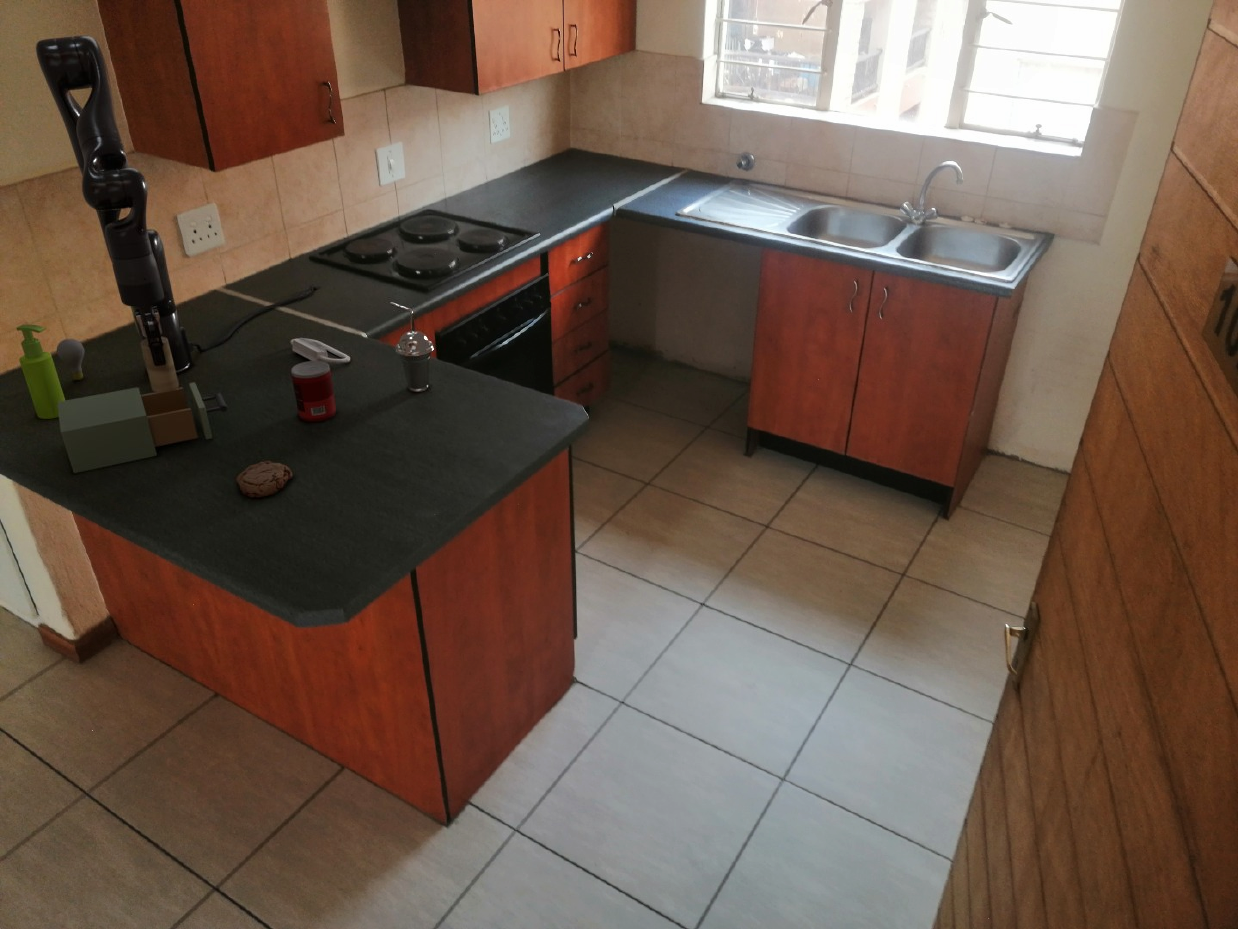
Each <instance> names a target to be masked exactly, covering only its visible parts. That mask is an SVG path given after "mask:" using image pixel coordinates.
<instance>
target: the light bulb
mask: <svg viewBox="0 0 1238 929" xmlns="http://www.w3.org/2000/svg"><path fill="white" fill-rule="evenodd" d="M56 355H57V356H58V358H59V359H60V360H61V361H62V362H63V363H64V364H66V365H67V366H68V367H69V369H70V372H71V375H72V379H73V380H76V381H81V380H82V379H83V378H84V374H83V369H82V362H83V359H84V356H85V348H84V345H83V344H82V343H81V341H79V340H77V339H74V338H65V339H63V340H61V341H60V342H59V343H58V344H57V347H56Z"/></svg>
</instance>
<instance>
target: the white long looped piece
mask: <svg viewBox="0 0 1238 929" xmlns="http://www.w3.org/2000/svg"><path fill="white" fill-rule="evenodd" d="M289 343H290V345H291V346H292V347H291V351H292V352H295V353H297V355H300V356H302V357H304V358H305V359H308V360H309V361H322V362H326V363H328V364H347V363H349V362H351V357H350V356H349V355H348V354H346V353H343V352H342V351H340V350H338V349H336V348H334V347H332V346H330V345H328V344H326V343H324V342H322V341H319V340H316V339H312V338H303V337H298V338H293V339H291V340H290V342H289ZM327 351H328V352H330V353H332V354H334V355H336V356H338V357H339V358H331V357H329V356H328V352H327Z"/></svg>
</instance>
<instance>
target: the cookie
mask: <svg viewBox="0 0 1238 929" xmlns="http://www.w3.org/2000/svg"><path fill="white" fill-rule="evenodd" d="M293 476H294V475H293V472H292V470H291V468H290V467H288V465H286V464H283V463H281V462H273V461H271V460H264V461H260V462H257V463H255V464H252V465H249V466H248V467H246V468H245V469H244V470H243V471H242V472H240V474H238V476H236V482H237V484H238V486H239V488H240V489H239V490H240V491H241V493H242V494H243V495H244V496H246V497H247V496H248V497H249V498H262V497H263V498H264V497H266V496H271V495H274V494H276V493H277V492H278V491H280V490H281V489H283V488H284V487H285V485H286V483H287V482H288V480H291V479H292V478H293Z"/></svg>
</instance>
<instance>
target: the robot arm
mask: <svg viewBox="0 0 1238 929" xmlns="http://www.w3.org/2000/svg"><path fill="white" fill-rule="evenodd" d="M35 52H36V58H37V61H38V64H39V67H40V70H41V72H42V74H43V77H44V80H45V82H46V84H47V86H48V89H49V90H50V93H51V96H52V98H53V100H54V102H55V106H56V107H57V110H58V112H59V113H60V116H61V119H62V121H63V124H64V126H65V129H66V133H67V135H68V138H69V141H70V144H71V147H72V151H73V153H74V157H75V159H76V163H77V165H78V168H79V170H80V174H81V176H82V178H81V192H82V196H83V198H84V201H85V202H86V204H87V205H88V206H89V207H91V208H92V209H94V210H95V212H96V215H97V218H98V221H99V225H100V228H101V232H102V235H103V239H104V242H105V246H106V249H107V250H106V251H107V254H108V256H109V259H110V262H111V264H112V271H113V275H114V278H115V282H116V285H117V289H118V293H119V298H120V301H121V303H122V304H123V305H124V306H126V307H130V309H131V313H132V317H133V321H134V325H135V329H136V333H137V336H138V340H139V343H140V342H141V341H142V340H144V339H147V342H148V347H149V349H150V351H151V355H152V359H153V363H154V365H155V366H161V365H165V364H166V359H165V355H164V351H163V345H164V343H163V342H162V338H161V337H166V338H167V339H168V342H169V346H170V350H171V354H172V358H173V363H174V367H175V371H176V375H178V374H182V373H183V372H185V371H187V370H188V369H189V368H190V367H192V366H194V361H193V357H192V352H195V348H194V347H196V349H197V350H198V351H199V352H205V351H208V350H211V349H213V348H215V347H217V346H219V345H221V344H222V343H224V342H225V341H227V340H228V339H229V338H230V337H231V336H232V334H233V333H234V332H235V331H236V330H237V329H238V328H240V327H241V326H242V325H243V324H244V323H245V322H247V321H249V320H250V319H252V318H254V317H255V316H257V315H260V314H262V313H264V312H267V311H269V310H271V309H274V308H277V307H279V306H282V305H286V304H288V303H291V302H295V301H298V300H301V299H304V298H307V297H308V296H309V295H310V294H312V291H311V292H309V291H310V290H311V289H312V290H318V289H319V288H318V286H317V285H316V284H311V285H310V286H309V287H308V290H307V291H306V292H304V293H302V294H300V295H298V296H299V297H298V296H293V297H289V298H286V299H284V300H281V301H278V302H275V303H272V304H269V305H267V306H264V307H261V308H259V309H258V310H256V311H253V312H251V313H249V314H248V315H246V316H245V317H243V318H241V319H240V320H239V321H238V322H236V324H234V325H233V326H232V327H231V328H230V329H229V331H228V332H227V333H226V334H225V335H224V336H222V337H221V338H219V339H218V340H216V341H214V342H213V343H210V344H209V345H206V346H202V345H201V344H200V343H199V342H198V341H189V340H188V336H187V332H186V328H185V327H184V326H181V323H180V319H179V315H178V311H177V307H176V306H177V305H176V303H175V298H174V294H173V290H172V284H171V279H170V274H169V270H168V264H167V259H166V252H165V247H164V243H163V240H162V237H161V235H160V233H159V232H158V231H157V230H156V229H153V228H152V229H151V228H150V229H149V228H148V226H147V207H148V206H147V205H148V195H149V194H148V193H149V192H148V191H149V190H148V189H149V188H148V183H147V182H148V181H147V179H146V178H145V175H143V173H142V172H141V171H139V169H137V168H135V167H131V165H130V163H129V160H128V156H127V152H126V150H125V147H124V143H123V140H122V137H121V134H120V131H119V126H118V124H117V118H116V112H115V102H114V97H113V96H114V95H113V90H112V86H111V85H112V84H111V80H110V74H109V71H108V66H107V62H106V59H105V56H104V54H103V51H102V49H101V47H100V45H99V43H98V41H97V40H96V39H95V38H94V37H92V36H90V35H73V36H64V37H53V38H45V39H39V41H37V43H36V45H35ZM86 89H87V90H88V89H91V90H90V93H89V96H88V98H87V100H86V102H85V104H84V105H83V107H81V105H80V104H79V102H78V101H77V100H76V99H75V97H74V96H73V94H72V93H71V92H72V91H77V90H78V91H79V90H86ZM125 209H129V213H128V214H127V215H126V216H125V217H123V218H120V216H121V213H122V210H125ZM314 286H315V287H314ZM307 292H309V293H307ZM306 293H307V294H306ZM301 295H303V296H301ZM296 297H297V298H296ZM283 301H284V302H283ZM153 338H158V340H159V341H156V342H151V341H150V340H151V339H153ZM142 359H143V361H145V360H144V357H143V354H142ZM145 369H146V370H147V368H146V367H145ZM146 373H147V374H148V372H147V371H146Z"/></svg>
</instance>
